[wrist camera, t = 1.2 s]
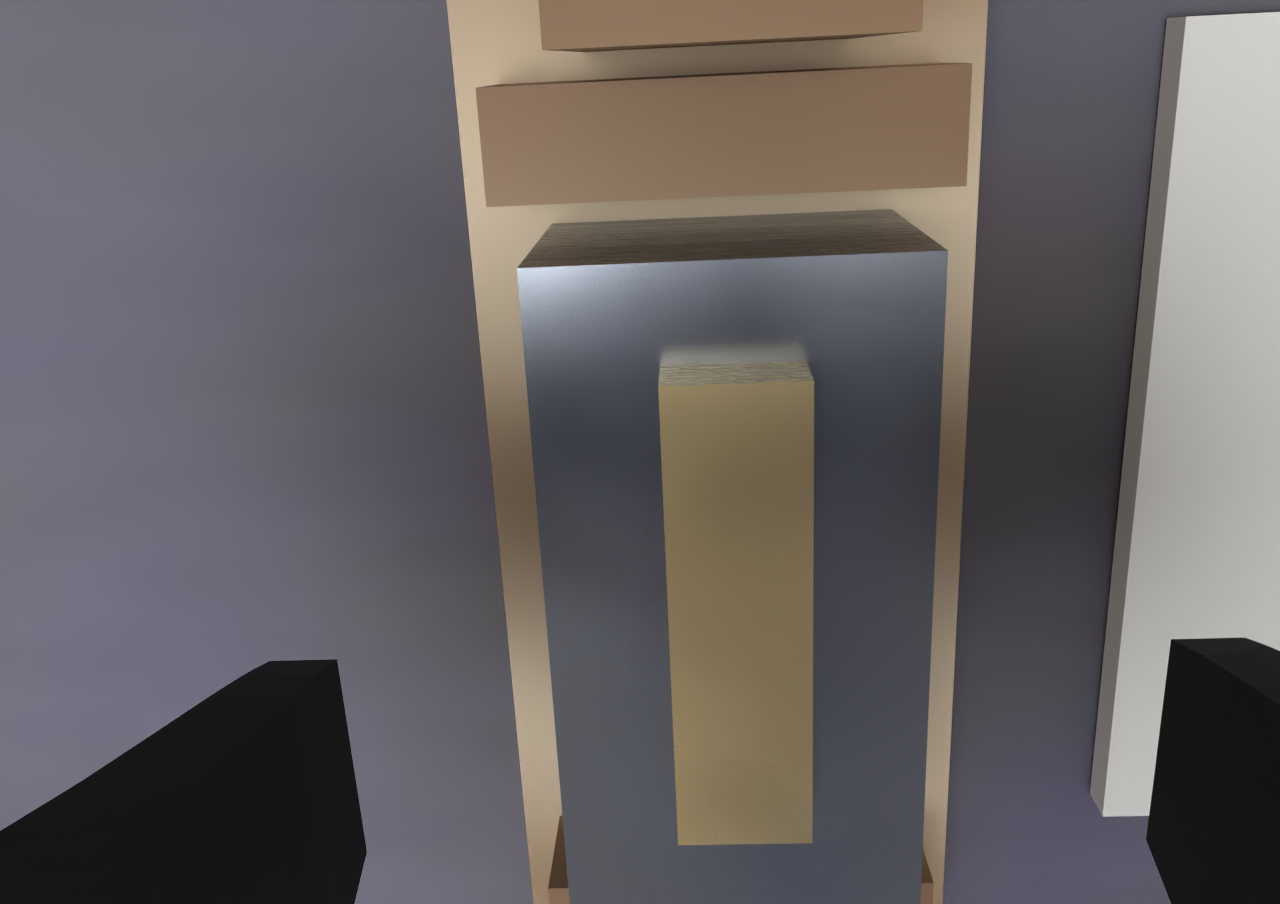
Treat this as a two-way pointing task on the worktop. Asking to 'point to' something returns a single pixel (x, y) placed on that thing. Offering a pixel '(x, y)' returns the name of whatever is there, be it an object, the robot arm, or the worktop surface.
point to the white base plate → (1198, 391)
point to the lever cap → (738, 549)
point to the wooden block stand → (708, 187)
